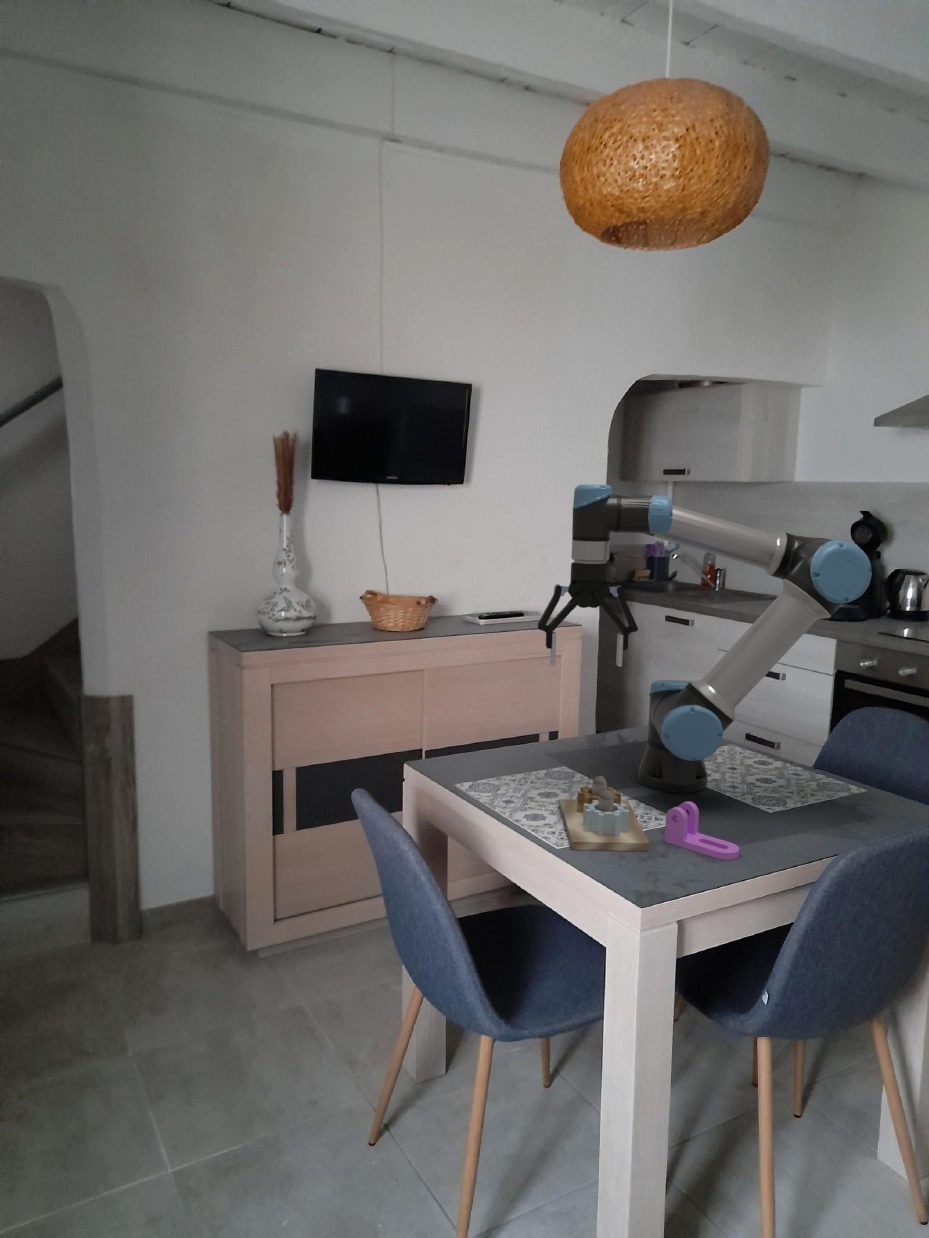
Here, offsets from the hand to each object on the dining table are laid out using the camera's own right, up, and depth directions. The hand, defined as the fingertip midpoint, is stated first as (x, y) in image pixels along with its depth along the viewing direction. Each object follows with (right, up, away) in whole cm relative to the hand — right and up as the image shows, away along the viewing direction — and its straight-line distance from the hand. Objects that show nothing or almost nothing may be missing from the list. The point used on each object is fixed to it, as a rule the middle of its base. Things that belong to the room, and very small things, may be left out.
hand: (585, 665), depth 182 cm
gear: (+2, -30, -15) cm, 34 cm away
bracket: (+19, -33, -20) cm, 43 cm away
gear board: (+1, -31, -11) cm, 33 cm away
